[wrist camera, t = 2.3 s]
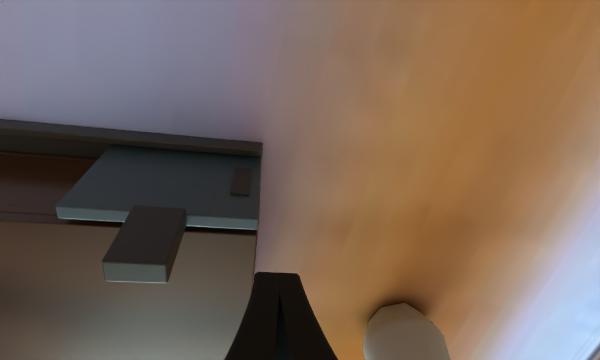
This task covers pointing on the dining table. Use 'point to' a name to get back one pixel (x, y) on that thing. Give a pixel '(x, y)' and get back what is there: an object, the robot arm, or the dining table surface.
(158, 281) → the door
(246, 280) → the cabinet
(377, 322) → the salt shaker
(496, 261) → the dining table surface
